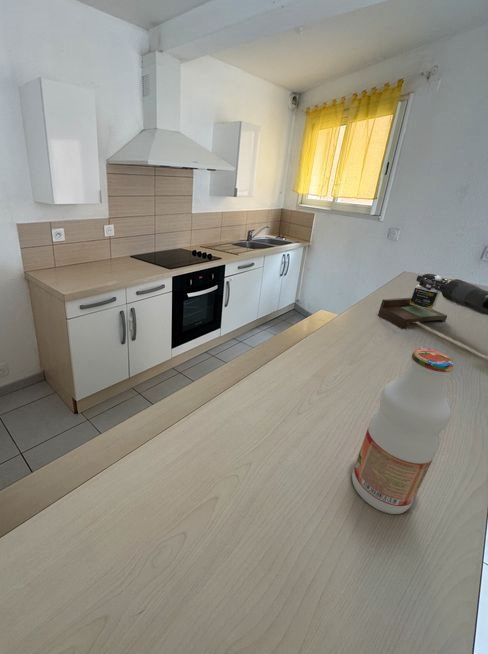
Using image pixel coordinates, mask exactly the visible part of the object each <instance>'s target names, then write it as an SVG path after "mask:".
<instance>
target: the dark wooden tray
mask: <svg viewBox="0 0 488 654" xmlns="http://www.w3.org/2000/svg"><path fill="white" fill-rule="evenodd" d="M411 298H412V297H399V298H398V297H397V298H385V299H382V300H381V302H380V303H381V304H380V307H379V309H378V313H377V317H379V318H381V319H383V320H384V321H387V322H389V323H391V324H392V325H394V326H396V327H398V328H400V329H401V330H407V327H408V325H409V323H421V322H432V321H439V322H441V323H445V322H446V321H447V318H448V315H446V314H444V313H442V312H440V311H438V310H436V309H433V308H432V309H431V310H430V309H426V308H422V307H419V306H415V305H411V304H410V301H411Z"/></svg>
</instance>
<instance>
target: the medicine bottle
mask: <svg viewBox="0 0 488 654" xmlns="http://www.w3.org/2000/svg"><path fill="white" fill-rule="evenodd" d="M421 276H423V277H425V278H428V279H437V280H441V281H442V278H443V277H441V276H440V275H438V274H434V273H424V274H422V275H421ZM435 282H436V281H434V284H433V285H435ZM440 294H441V292H438V291H437V290H434V289H431V290H427V289H425V288H424V287H422V286H420V285H419V284H417V285H416V286H415V287H414V290H413V292H412V296H411V297H410V298H411V301H410V304H411V305H415V306H419V307H422V308H426V309H430V310H431V309H433V308H434V307H436V304H437V301H438V299H439V297H440Z"/></svg>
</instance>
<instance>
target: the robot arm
mask: <svg viewBox="0 0 488 654" xmlns="http://www.w3.org/2000/svg"><path fill="white" fill-rule="evenodd" d="M441 278H442V281H441V280H437V279H428V278H425V277H423V276H422V275H417V276H416V282H418V285H420V286H422V287H424V288H425V289H427V290H431V289H434V290H437V291H438V292H440V294H441V295H442V298H443V297H444V298H445V299H444V298H443V299H444V300H446V299H447V301H449V302H451V303H454V304H456V305H458V306H460V307H463V308H465V309H469V310H470V311H473V312H474V313H477V314H481V315H484V316H488V290H486V289H484V288H481V287H480V286H477V285H475V284H473V283H470V282H467V281H464V280H462V279H459V278H458V279H457V278H456V279H455V278H454V279H453V278H452V279H451V278H450V279H448V278H443V277H441ZM434 281H436V282H435V285H433V284H434Z"/></svg>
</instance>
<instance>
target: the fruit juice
mask: <svg viewBox="0 0 488 654" xmlns="http://www.w3.org/2000/svg"><path fill="white" fill-rule="evenodd" d="M410 361H411V364H410V365H409V367H408V368H407V369H406V370H405V371H404V372H403V373H402V374H401V375H400V376H399V377H398V378H396V379H393V380H391V381H390V382H388V383H387V384H385V385H384V386H383V388H382V390H381V392H380V396H379V408H377V409H376V410H375V411H374V413H373V414H372V416H371V418H370V421H369V423H368V426H367V430H366V432H365V435H364V438H363V441H362V444H361V447H360V449H359V452H358V455H357V458H356V460H355V464H354V467H353V469H352V474H351V475H352V476H351V480H352V481H351V482H352V484H353V488H354V490H355V491H356V493H357V494H358V495H359V496H360V498H362V499H363V501H365V502H366V503H367V504H368V505H370V506H371V507H373V508H374V509H376V510H378V511H379V512H383V513H386V514H390V515H400V514H403V513H405V512H407V511H408V510H409V509H410V507H411V506H412V504H413V503H414V501H415V498H416V496H417V494H418V492H419V490H420V488H421V486H422V483H423V481H424V479H425V477H426V475H427V473H428V471H429V468H430V467H431V465H432V462H433V460H434V459H435V457H436V454H437V453H438V449H439V445H440V442H441V441H440V440H441V438H440V434H441V433H442V431H444V430H445V429H446V428H447V427H448V426H449V423H450V421H451V419H452V408H451V404H450V402H449V398H448V396H447V395H448V394H447V376H448V375H449V374H451V372H452V371H453V370H454V366H455V362H454V359H452V357H450V356H449V355H447V354H445V353H444V352H441V351H438V350H435V349H433V348H432V349H431V348H426V347H419V348H416V349H415V350H413V352H412V354H411V358H410Z"/></svg>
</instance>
